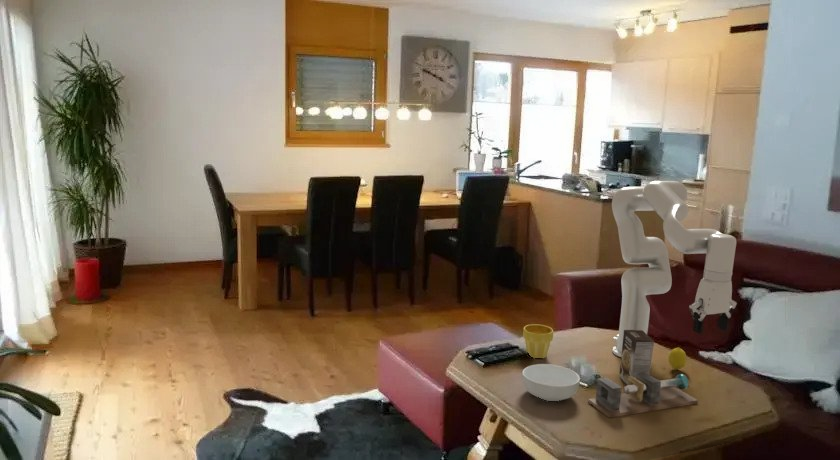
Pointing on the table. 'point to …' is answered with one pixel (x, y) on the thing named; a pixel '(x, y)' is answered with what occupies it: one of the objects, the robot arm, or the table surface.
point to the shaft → (662, 384)
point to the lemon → (677, 358)
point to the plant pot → (537, 339)
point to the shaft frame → (637, 397)
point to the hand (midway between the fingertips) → (709, 330)
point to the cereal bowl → (550, 381)
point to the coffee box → (635, 354)
